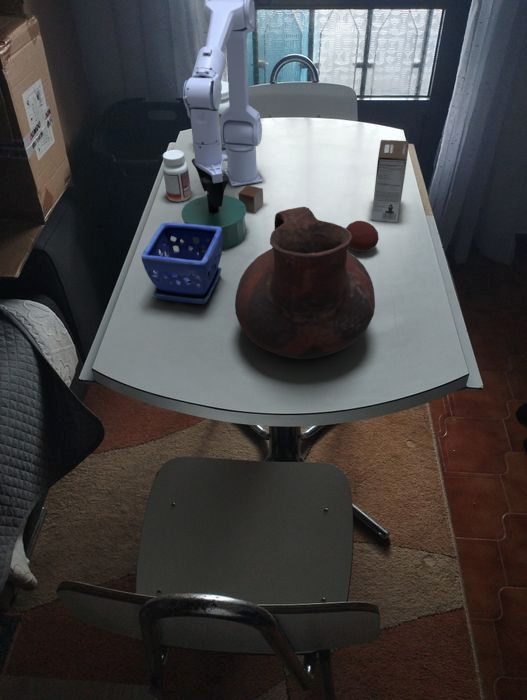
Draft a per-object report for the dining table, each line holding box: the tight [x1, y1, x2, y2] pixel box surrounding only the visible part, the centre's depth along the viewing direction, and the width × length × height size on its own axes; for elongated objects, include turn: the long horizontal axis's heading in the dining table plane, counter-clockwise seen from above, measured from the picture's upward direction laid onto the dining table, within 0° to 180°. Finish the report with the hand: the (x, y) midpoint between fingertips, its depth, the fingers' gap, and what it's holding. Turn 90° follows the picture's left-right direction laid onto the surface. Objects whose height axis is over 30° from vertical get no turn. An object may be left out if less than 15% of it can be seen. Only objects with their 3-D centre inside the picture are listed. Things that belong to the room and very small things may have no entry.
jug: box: [234, 206, 376, 360], centre depth 104 cm, size 25×25×25 cm
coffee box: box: [371, 139, 410, 223], centre depth 138 cm, size 9×6×16 cm
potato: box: [346, 220, 380, 252], centre depth 131 cm, size 7×8×6 cm
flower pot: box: [141, 222, 223, 305], centre depth 120 cm, size 13×13×12 cm
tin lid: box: [181, 193, 247, 229], centre depth 134 cm, size 15×15×5 cm
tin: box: [183, 216, 247, 251], centre depth 137 cm, size 14×14×6 cm
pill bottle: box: [162, 149, 192, 203], centre depth 148 cm, size 6×6×11 cm
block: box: [237, 184, 264, 214], centre depth 146 cm, size 4×4×4 cm
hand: (212, 198), depth 133 cm, fingers open, 7 cm apart
